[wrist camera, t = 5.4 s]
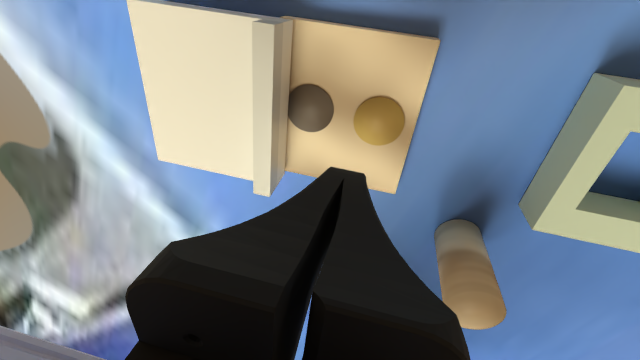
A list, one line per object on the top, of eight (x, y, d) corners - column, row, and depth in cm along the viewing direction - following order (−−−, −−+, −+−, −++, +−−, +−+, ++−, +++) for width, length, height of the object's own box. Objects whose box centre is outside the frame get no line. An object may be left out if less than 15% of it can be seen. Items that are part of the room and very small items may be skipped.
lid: (284, 174, 20) (269, 196, 18) (172, 149, 21) (145, 168, 19) (293, 19, 15) (274, 24, 13) (147, -2, 16) (106, -1, 14)
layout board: (395, 185, 20) (394, 195, 19) (279, 161, 21) (274, 169, 20) (438, 37, 15) (440, 41, 15) (285, 15, 17) (278, 17, 16)
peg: (471, 256, 22) (492, 335, 17) (428, 247, 22) (436, 320, 17) (488, 225, 20) (516, 301, 15) (442, 215, 21) (455, 286, 16)
